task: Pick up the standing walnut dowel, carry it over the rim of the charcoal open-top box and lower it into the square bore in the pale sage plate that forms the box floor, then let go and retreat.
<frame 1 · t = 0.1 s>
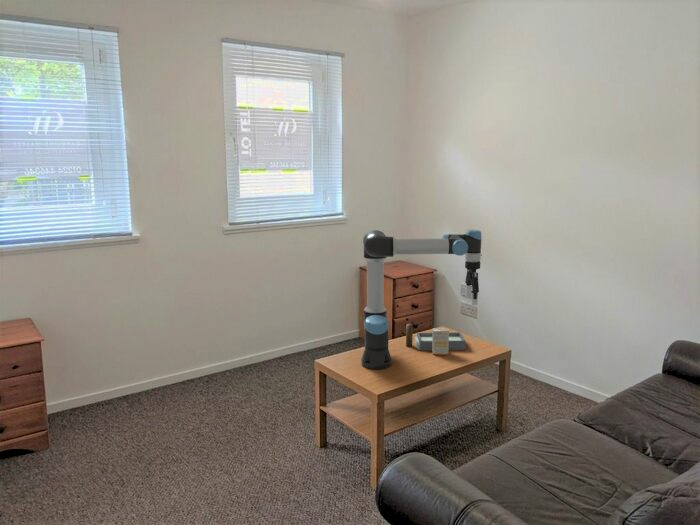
hand: (471, 301, 282), 28 cm above the table, fingers open, 13 cm apart
box: (440, 345, 299), on the table
supplement box: (440, 353, 287), on the table
peg: (409, 345, 299), on the table
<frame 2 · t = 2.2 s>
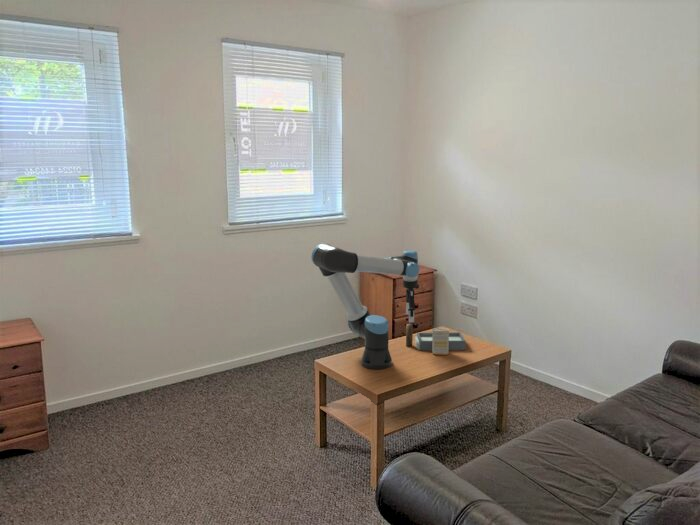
hand: (410, 318, 296), 16 cm above the table, fingers open, 13 cm apart
nothing on the table moved.
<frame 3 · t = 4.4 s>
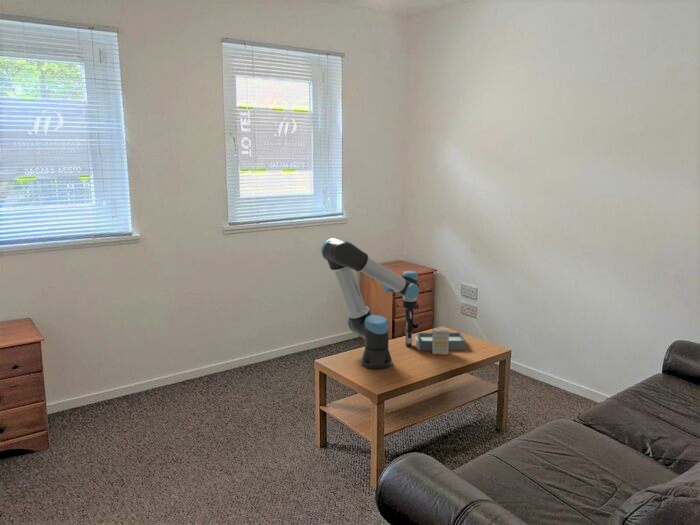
hand: (408, 341, 298), 2 cm above the table, fingers closed on peg, 3 cm apart
peg: (408, 344, 299), point 1 cm above the table, touching gripper
everything else where it was.
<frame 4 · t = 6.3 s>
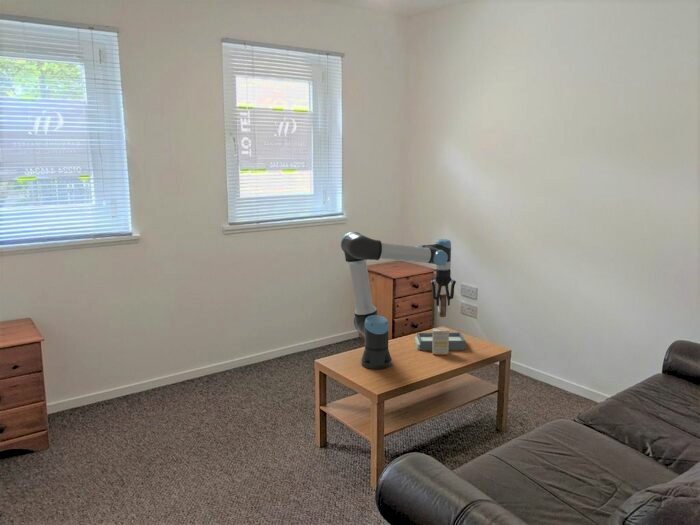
hand: (442, 311, 295), 19 cm above the table, fingers closed on peg, 3 cm apart
peg: (442, 316, 296), point 16 cm above the table, touching gripper
everything else where it was.
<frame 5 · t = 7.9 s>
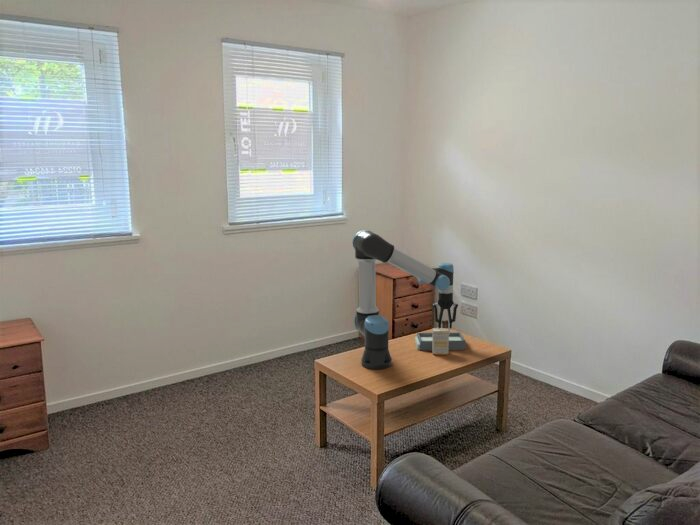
hand: (444, 334, 298), 7 cm above the table, fingers closed on peg, 3 cm apart
peg: (444, 341, 298), point 2 cm above the table, touching gripper
everything else where it was.
when the fingers open (4 cm above the table, at t = 8.6 s): peg stays where it is, resting in box.
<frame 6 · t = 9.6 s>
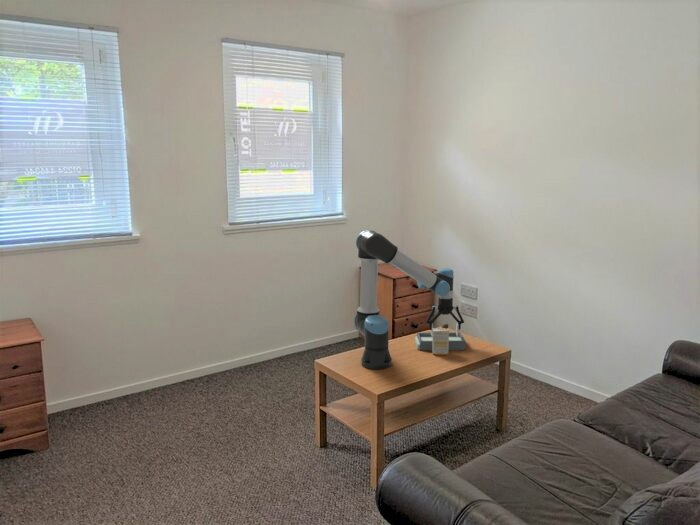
hand: (444, 335, 298), 6 cm above the table, fingers open, 13 cm apart
peg: (444, 345, 299), resting in box
everything else where it was.
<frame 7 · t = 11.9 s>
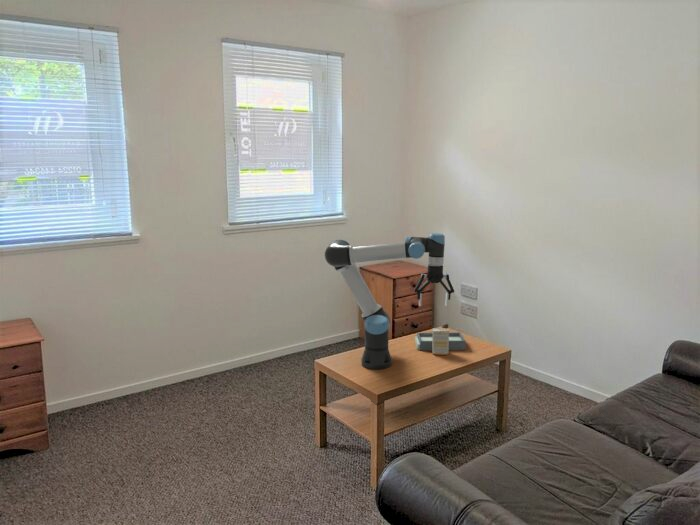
hand: (433, 305, 279), 27 cm above the table, fingers open, 13 cm apart
nothing on the table moved.
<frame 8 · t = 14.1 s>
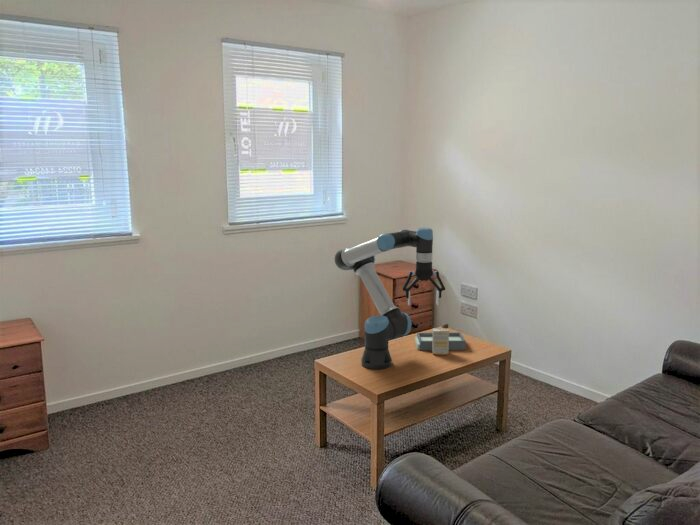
hand: (423, 304, 263), 32 cm above the table, fingers open, 13 cm apart
nothing on the table moved.
at the end: peg 0.2 cm from the target spot on the box, point 0.0 cm above the box's base; peg tilted 0°; the gripper is holding nothing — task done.
